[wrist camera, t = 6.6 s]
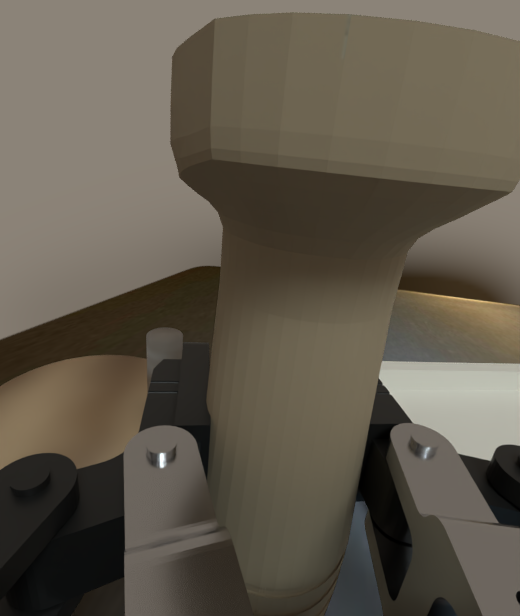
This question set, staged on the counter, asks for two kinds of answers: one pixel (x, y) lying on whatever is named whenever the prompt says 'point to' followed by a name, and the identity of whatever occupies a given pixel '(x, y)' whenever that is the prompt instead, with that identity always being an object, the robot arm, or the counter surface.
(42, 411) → the crank wheel
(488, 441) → the tray
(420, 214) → the handle
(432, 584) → the robot arm
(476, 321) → the counter surface
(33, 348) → the counter surface
